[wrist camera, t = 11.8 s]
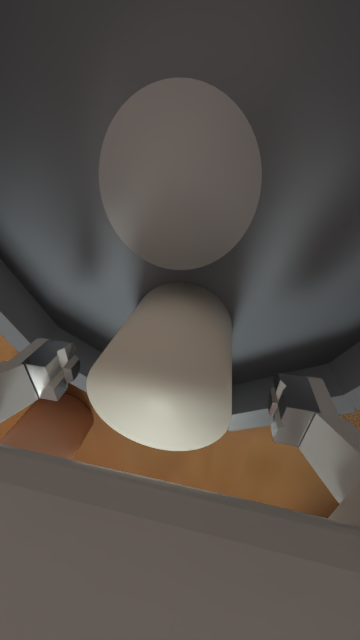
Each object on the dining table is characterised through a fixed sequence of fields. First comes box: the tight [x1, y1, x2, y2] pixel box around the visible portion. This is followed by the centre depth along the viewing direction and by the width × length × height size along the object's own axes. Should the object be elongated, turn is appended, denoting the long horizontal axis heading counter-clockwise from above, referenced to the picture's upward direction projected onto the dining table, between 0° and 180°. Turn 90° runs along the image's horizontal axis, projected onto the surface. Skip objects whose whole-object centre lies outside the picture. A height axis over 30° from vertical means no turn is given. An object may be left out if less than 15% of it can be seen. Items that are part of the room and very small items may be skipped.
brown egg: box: [0, 393, 94, 460], centre depth 18 cm, size 5×5×5 cm
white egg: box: [86, 282, 232, 451], centre depth 10 cm, size 5×5×5 cm
